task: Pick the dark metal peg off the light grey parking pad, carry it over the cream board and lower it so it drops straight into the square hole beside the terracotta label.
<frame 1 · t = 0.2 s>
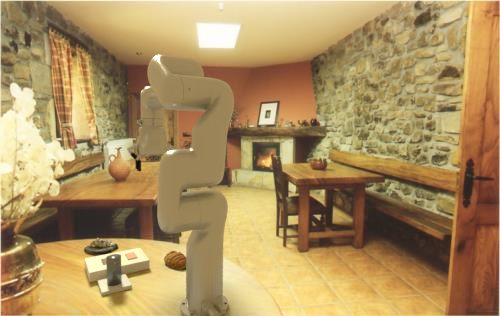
hand: (152, 170, 118), 31 cm above the table, tool pointing down, fingers open, 9 cm apart
grey rounded lumpy piece: (101, 251, 121), on the table
parking pad: (114, 285, 94), on the table
pastry: (176, 264, 110), on the table
peg: (114, 282, 94), point 1 cm above the table, touching parking pad
board: (117, 267, 106), on the table
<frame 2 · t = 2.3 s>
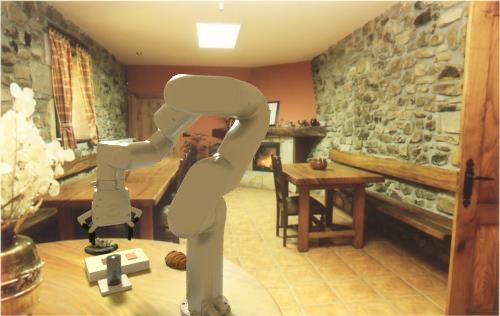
hand: (111, 241, 93), 14 cm above the table, tool pointing down, fingers open, 9 cm apart
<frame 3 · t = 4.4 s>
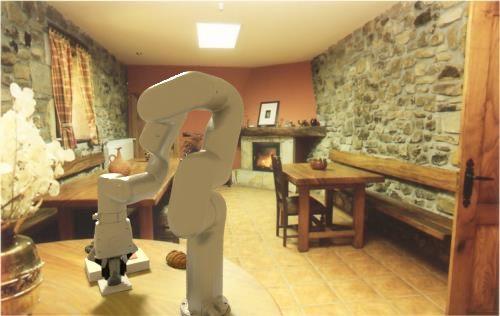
hand: (114, 275, 94), 3 cm above the table, tool pointing down, fingers closed on peg, 4 cm apart
peg: (114, 282, 94), point 1 cm above the table, touching gripper, parking pad
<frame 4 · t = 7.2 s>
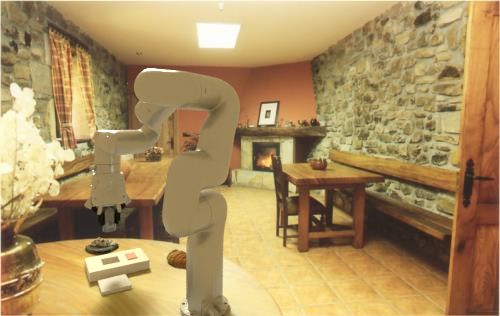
hand: (109, 224, 103), 15 cm above the table, tool pointing down, fingers closed on peg, 4 cm apart
peg: (109, 230, 103), point 13 cm above the table, touching gripper
when the fingers open (4 cm above the table, at t = 10.1 s): peg drops 2 cm, resting in board.
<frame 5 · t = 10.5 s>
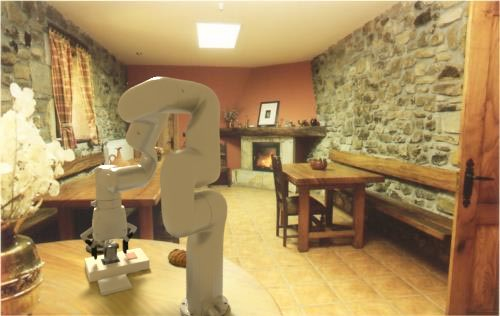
hand: (110, 254, 104), 5 cm above the table, tool pointing down, fingers open, 8 cm apart
peg: (110, 269, 105), resting in board
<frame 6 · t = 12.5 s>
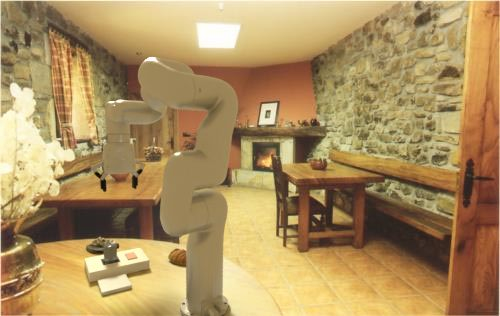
hand: (119, 189, 108), 25 cm above the table, tool pointing down, fingers open, 9 cm apart
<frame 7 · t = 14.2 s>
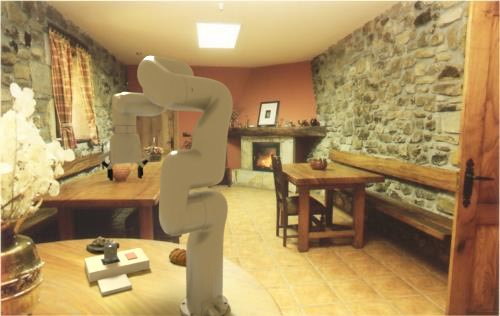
hand: (125, 179, 112), 28 cm above the table, tool pointing down, fingers open, 9 cm apart
at the end: peg 0.0 cm from the target spot on the board, point 0.0 cm above the board's base; peg tilted 1°; the gripper is holding nothing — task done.
